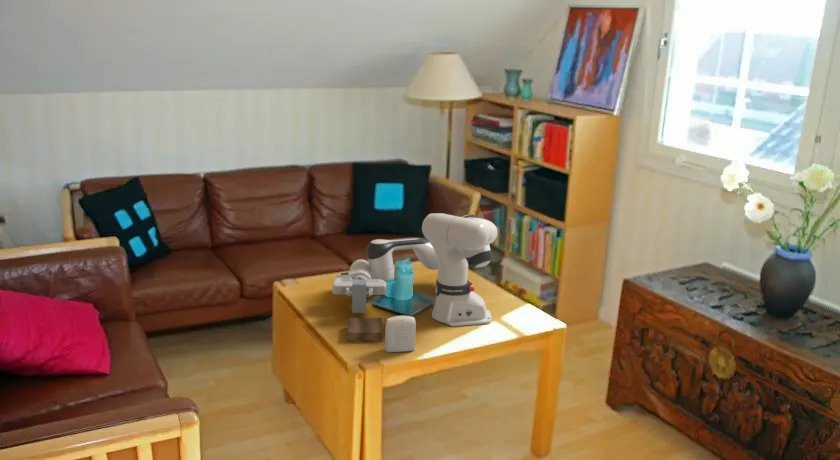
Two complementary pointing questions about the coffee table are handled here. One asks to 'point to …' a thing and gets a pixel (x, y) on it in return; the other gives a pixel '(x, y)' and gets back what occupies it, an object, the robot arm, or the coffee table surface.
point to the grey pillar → (359, 296)
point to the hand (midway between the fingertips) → (359, 295)
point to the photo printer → (400, 334)
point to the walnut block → (364, 330)
